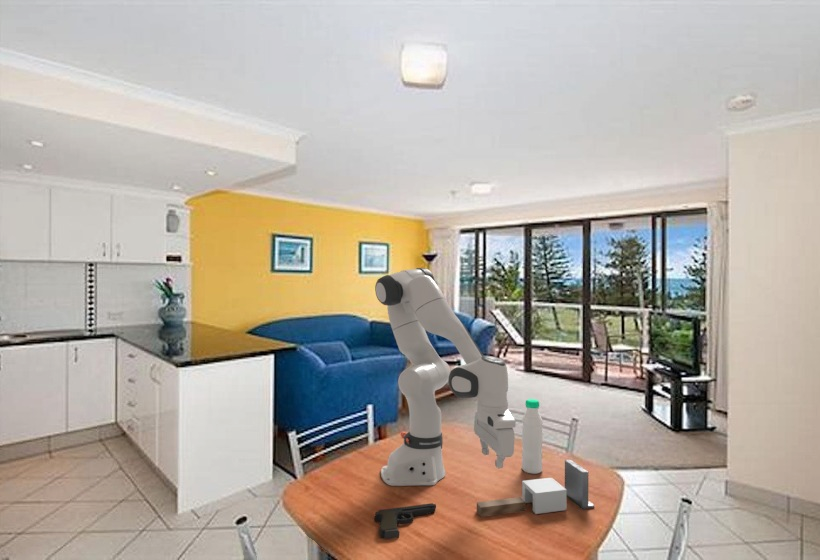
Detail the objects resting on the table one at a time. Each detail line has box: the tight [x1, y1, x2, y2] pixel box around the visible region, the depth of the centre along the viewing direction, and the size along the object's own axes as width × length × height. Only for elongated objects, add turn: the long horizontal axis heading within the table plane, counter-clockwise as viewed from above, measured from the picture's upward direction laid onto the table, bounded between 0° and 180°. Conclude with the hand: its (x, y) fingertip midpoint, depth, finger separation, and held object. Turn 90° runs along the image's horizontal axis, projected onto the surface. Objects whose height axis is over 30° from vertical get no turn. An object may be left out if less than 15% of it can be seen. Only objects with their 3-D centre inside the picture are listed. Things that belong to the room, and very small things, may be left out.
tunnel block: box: [521, 477, 567, 515], centre depth 130 cm, size 10×8×6 cm
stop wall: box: [564, 459, 595, 511], centre depth 133 cm, size 4×9×11 cm, turn 14°
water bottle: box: [521, 398, 544, 475], centre depth 155 cm, size 7×7×25 cm
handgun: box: [373, 502, 437, 540], centre depth 121 cm, size 3×19×12 cm
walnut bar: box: [476, 496, 526, 518], centre depth 127 cm, size 14×3×3 cm, turn 104°
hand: (492, 460), depth 126 cm, fingers open, 8 cm apart
